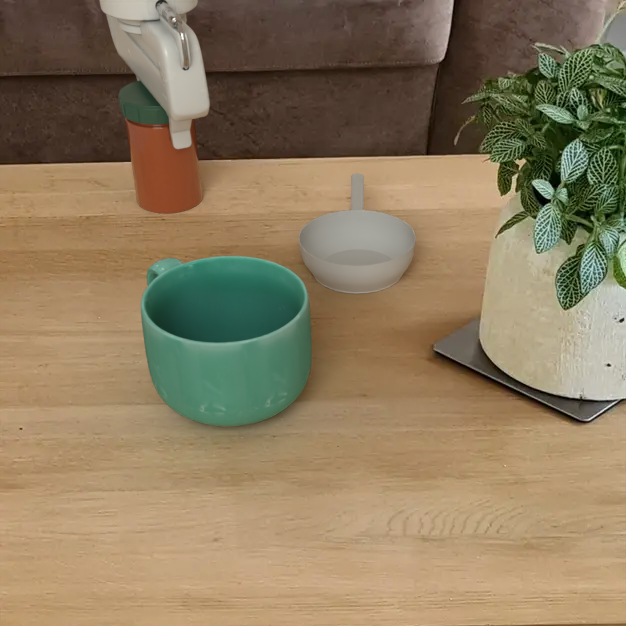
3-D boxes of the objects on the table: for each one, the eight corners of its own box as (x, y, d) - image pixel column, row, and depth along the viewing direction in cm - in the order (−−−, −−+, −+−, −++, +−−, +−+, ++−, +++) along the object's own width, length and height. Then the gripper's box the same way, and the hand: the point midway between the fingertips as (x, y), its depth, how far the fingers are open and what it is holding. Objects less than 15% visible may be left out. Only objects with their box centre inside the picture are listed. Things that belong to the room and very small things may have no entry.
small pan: (297, 300, 105) (295, 262, 102) (305, 207, 119) (303, 172, 116) (417, 299, 105) (418, 262, 103) (410, 207, 119) (411, 173, 117)
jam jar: (147, 218, 116) (132, 116, 109) (129, 191, 121) (114, 91, 114) (211, 206, 119) (200, 105, 112) (191, 179, 123) (179, 81, 116)
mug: (344, 412, 92) (341, 309, 86) (199, 469, 86) (185, 362, 80) (243, 318, 102) (234, 220, 96) (108, 363, 96) (89, 262, 90)
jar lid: (204, 118, 112) (202, 100, 111) (131, 129, 110) (128, 110, 109) (184, 91, 117) (182, 74, 116) (114, 101, 115) (111, 84, 114)
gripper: (217, 15, 101) (234, 164, 109) (149, -47, 115) (169, 89, 123) (145, 26, 98) (168, 178, 107) (85, -39, 113) (110, 100, 121)
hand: (168, 130), depth 115 cm, fingers closed on jam jar, 7 cm apart
